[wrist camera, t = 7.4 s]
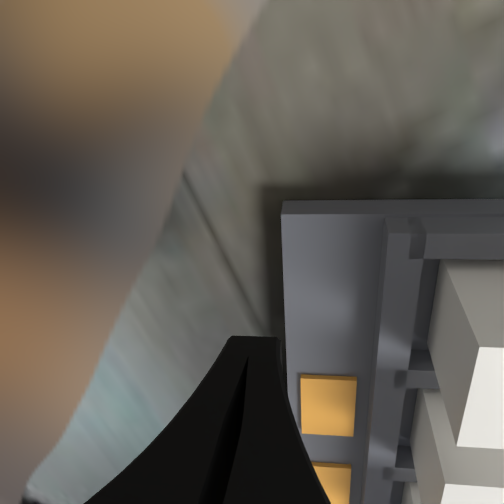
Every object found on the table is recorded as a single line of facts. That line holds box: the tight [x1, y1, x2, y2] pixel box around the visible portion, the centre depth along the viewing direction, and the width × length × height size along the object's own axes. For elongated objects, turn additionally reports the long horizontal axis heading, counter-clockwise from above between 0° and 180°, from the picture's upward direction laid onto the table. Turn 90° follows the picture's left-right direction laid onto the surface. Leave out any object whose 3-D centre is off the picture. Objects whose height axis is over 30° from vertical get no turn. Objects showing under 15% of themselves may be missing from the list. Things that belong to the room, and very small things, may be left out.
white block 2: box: [410, 388, 504, 504], centre depth 15 cm, size 3×4×4 cm
